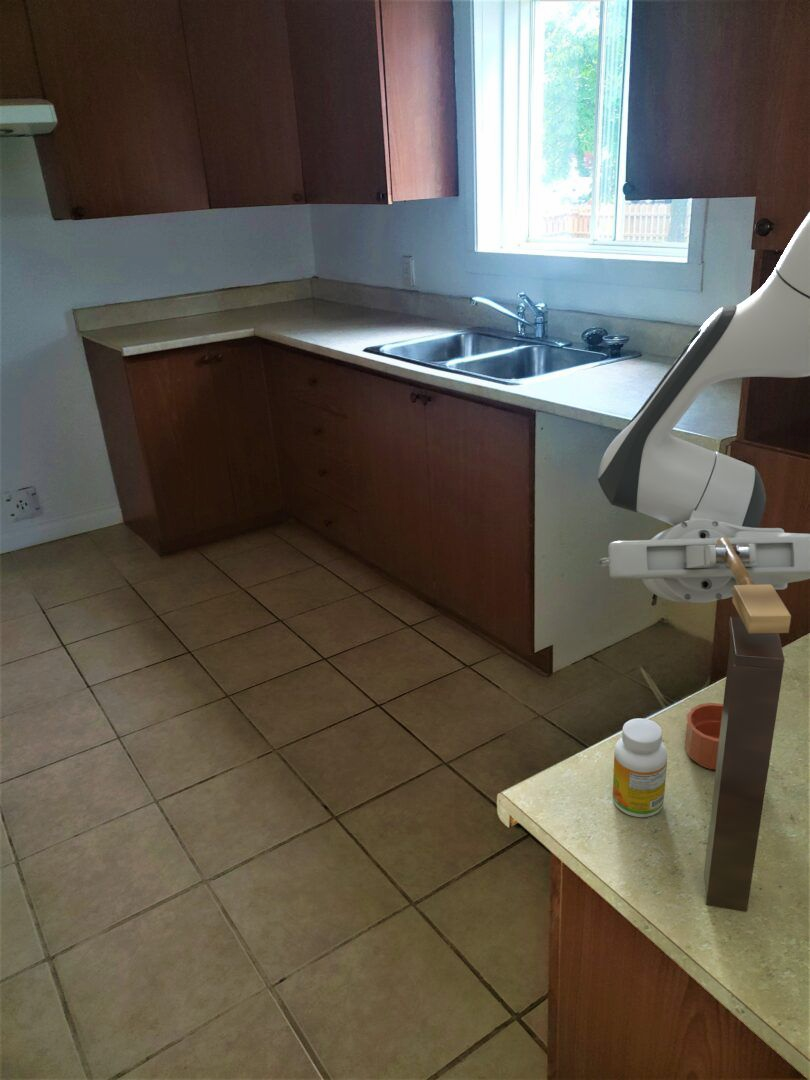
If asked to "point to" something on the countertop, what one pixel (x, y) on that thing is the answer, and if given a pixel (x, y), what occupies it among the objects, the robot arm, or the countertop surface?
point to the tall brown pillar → (742, 764)
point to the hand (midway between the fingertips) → (732, 553)
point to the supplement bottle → (640, 769)
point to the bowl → (703, 733)
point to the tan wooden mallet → (755, 599)
